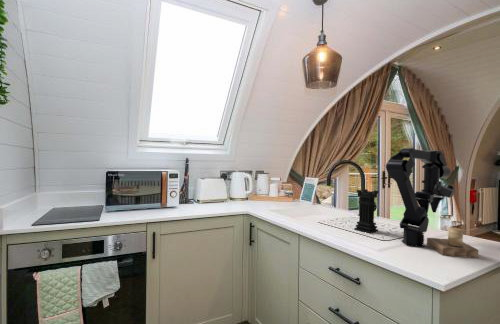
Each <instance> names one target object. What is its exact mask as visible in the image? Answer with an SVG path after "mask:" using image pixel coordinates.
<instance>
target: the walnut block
mask: <svg viewBox="0 0 500 324" xmlns="http://www.w3.org/2000/svg"><path fill="white" fill-rule="evenodd" d="M426 246H428V247H430V249H432V250H434V251H436V252H437V253H438V254H440V255H441V256H448V257H450V256H451V257H463V258H475V259H478V258H479V249H478V248H476V247H474V246H471V245H470V244H468V243H466V242H464V241H463V242H462V247H461V248H459V247H452V246H449V245H448V238H436V237H426Z"/></svg>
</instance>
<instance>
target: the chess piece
mask: <svg viewBox="0 0 500 324" xmlns="http://www.w3.org/2000/svg"><path fill="white" fill-rule="evenodd" d="M356 193H357V197H359V201H358V204H359V217H358V219H359V221H356V224H355V227H354V229H353V230H354V231H357V232H358V231H359V232H361V233H365V232H366V233H365V234H368V233H370V234H373V232H374V233H377V232H379V229H378V225H377V222H375V204H376V202H375V199H376V198H377V197H378V194H379V190H373V191H370V190H368V189H365V188H364V189H362V190H361V189H357V190H356ZM376 231H377V232H376Z"/></svg>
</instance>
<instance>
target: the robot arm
mask: <svg viewBox="0 0 500 324" xmlns="http://www.w3.org/2000/svg"><path fill="white" fill-rule="evenodd" d="M407 159H408V160H407ZM415 160H420V162H421V163H424V164H423V165H422V166H421V169H424V170H423V180H421V183H423V188H422V189H421V190H420V191H419V190H418V191H414V188H413V185H412V181H411V179H410V177H411V175H412V172H413V171H412V169H413V167H414V166H415V164H416V163H415ZM385 170H386V171H387V174H388V175H389V177H390V178H391V179H392V180H394V181H395V182H396V186H397V188H398V191H399V194H400V196H401V200H402V202H403V206H404V207H405V210H404V212H403V214H402V215H403V217H402V219H401V220H400V222H399V228H400V229H403V238H402V240H401V242H402V243H403V244H404V245H406V246H408V247H419V248H425V245H424V240H425V236H424V234H423V233H426V232H427V231H428V227H429V222H430V219H429V216H428V213H429V208H431V211H432V213H433V214H435V213H436V212H437V210H438V208H439V206H440V203H441V201H443V200H444V199H445V198H449V199H450V198H453V197H454V194H456V193H457V192H456V190H457V189H455V186H454V185H451V184H448V185H447V186H446V185H444V184H443V183H442V181H441V180H440V179H446V178H448V177H450V175H451V169H450V168H449V166H448V163H447V161H446V158H445V155H444V153H443V151H442V150H438V149H436V150H435V149H433V150H431V149H430V150H428V149H427V150H421V149H416V148H413V147H411V148H410V147H407V148H406V147H405V148H404V147H403V148H401V149H400V151H398V152H397V153H396V154H394V155H392V156H391V157H390V158H389V159H388V161H387V162H386V164H385Z"/></svg>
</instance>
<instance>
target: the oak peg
mask: <svg viewBox="0 0 500 324" xmlns="http://www.w3.org/2000/svg"><path fill="white" fill-rule="evenodd" d="M447 232H448V233H447V235H448V237H447V239H448V245H449V246H452V247H459V248H461V247H462V242H464V241H463V237H464V230H463V229H462V228H460V227H459V228H458V227H448V231H447Z"/></svg>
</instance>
